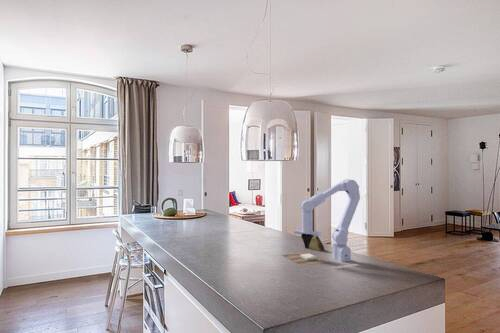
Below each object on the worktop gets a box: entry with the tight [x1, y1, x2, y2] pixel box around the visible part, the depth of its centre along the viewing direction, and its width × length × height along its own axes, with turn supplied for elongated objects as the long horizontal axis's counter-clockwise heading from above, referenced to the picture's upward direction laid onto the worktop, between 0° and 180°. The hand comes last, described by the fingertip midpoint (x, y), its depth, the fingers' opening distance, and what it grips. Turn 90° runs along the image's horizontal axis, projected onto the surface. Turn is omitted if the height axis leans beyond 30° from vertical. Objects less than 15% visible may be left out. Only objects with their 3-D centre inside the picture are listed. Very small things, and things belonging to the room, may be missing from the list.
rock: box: [308, 235, 326, 252], centre depth 200 cm, size 11×9×10 cm
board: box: [281, 251, 329, 266], centre depth 177 cm, size 22×16×1 cm
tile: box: [300, 253, 317, 261], centre depth 177 cm, size 2×6×7 cm
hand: (307, 248), depth 178 cm, fingers closed
